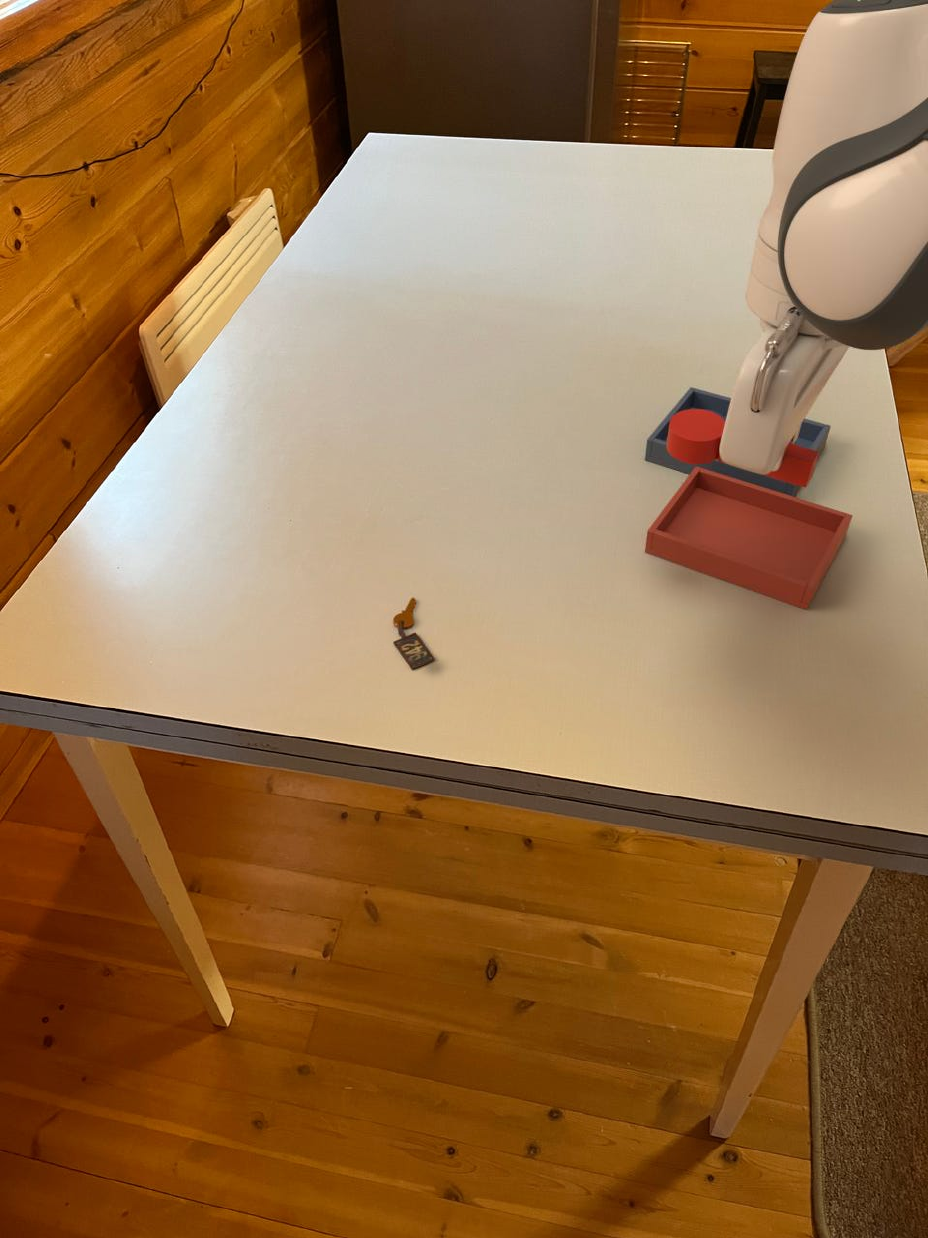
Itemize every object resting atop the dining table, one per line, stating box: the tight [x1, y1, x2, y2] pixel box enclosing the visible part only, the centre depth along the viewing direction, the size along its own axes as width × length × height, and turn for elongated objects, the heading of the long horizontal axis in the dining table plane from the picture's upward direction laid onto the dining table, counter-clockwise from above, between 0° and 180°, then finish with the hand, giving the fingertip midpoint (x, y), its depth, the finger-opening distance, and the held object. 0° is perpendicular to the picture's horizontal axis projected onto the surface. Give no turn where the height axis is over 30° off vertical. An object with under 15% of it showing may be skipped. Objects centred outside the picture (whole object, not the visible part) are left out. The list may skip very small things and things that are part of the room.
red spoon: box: [666, 409, 820, 489], centre depth 72 cm, size 11×4×2 cm, turn 58°
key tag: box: [392, 597, 436, 671], centre depth 80 cm, size 8×3×1 cm, turn 15°
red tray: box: [644, 466, 853, 610], centre depth 85 cm, size 15×11×3 cm
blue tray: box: [644, 386, 832, 497], centre depth 95 cm, size 15×11×3 cm
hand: (775, 453), depth 70 cm, fingers closed on red spoon, 1 cm apart
